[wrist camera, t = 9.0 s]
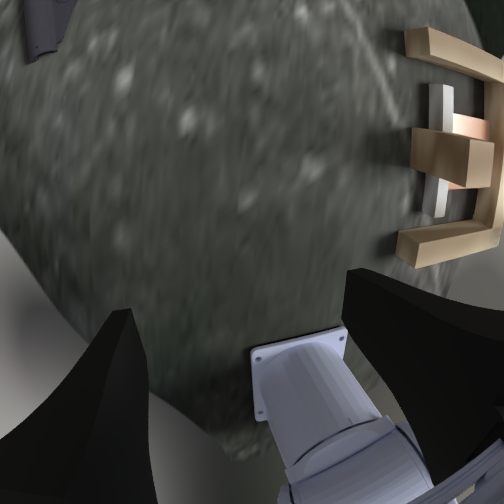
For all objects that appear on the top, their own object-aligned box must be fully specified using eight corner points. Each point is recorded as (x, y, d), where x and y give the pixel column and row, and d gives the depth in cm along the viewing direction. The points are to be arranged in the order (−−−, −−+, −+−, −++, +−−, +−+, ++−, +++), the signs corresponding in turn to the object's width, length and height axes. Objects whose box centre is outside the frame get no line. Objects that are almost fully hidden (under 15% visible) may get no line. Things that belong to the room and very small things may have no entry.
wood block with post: (431, 210, 23) (481, 235, 18) (405, 213, 22) (456, 241, 17) (439, 86, 18) (496, 91, 14) (411, 79, 18) (471, 81, 13)
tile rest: (480, 236, 26) (497, 246, 24) (395, 254, 23) (414, 268, 21) (494, 65, 19) (514, 67, 16) (403, 31, 16) (428, 26, 14)
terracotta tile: (472, 183, 24) (484, 187, 22) (430, 184, 22) (443, 189, 21) (477, 118, 21) (489, 121, 20) (434, 110, 20) (448, 112, 18)
